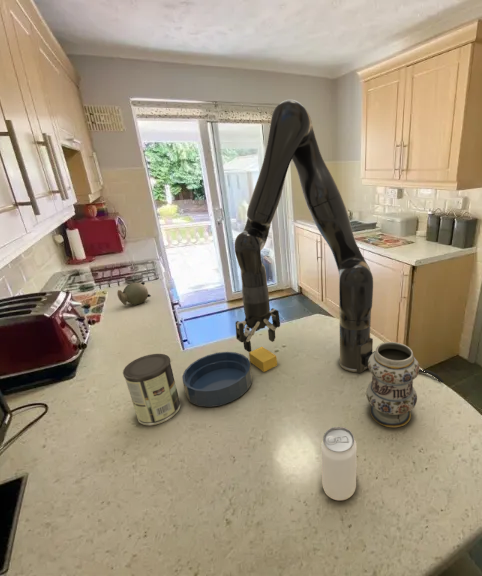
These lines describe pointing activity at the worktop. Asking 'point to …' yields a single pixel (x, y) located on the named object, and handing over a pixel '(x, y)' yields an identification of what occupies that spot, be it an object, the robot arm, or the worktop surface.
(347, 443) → the can
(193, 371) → the bowl
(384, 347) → the apothecary jar
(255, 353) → the sponge
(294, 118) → the robot arm
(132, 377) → the coffee can
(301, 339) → the worktop surface
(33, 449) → the worktop surface
